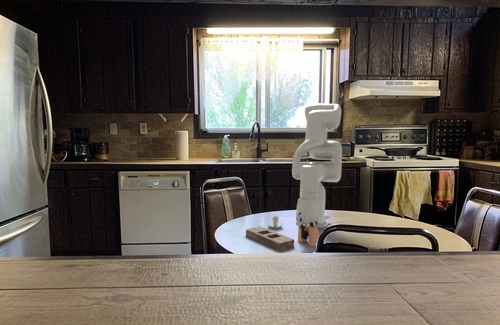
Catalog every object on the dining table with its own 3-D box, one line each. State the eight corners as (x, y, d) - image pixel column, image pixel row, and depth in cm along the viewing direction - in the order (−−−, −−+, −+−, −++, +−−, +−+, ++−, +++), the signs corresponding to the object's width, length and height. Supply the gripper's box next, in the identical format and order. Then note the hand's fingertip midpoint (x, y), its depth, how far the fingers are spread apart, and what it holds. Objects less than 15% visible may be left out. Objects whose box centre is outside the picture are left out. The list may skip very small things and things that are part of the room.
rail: (259, 232, 152) (260, 226, 152) (293, 246, 134) (294, 239, 134) (245, 236, 147) (245, 229, 147) (279, 250, 130) (279, 243, 129)
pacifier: (267, 226, 164) (268, 229, 158) (267, 213, 163) (268, 216, 157) (281, 226, 164) (283, 229, 158) (282, 213, 164) (283, 216, 158)
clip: (302, 239, 144) (303, 223, 143) (317, 245, 137) (318, 228, 136) (297, 240, 142) (298, 224, 141) (312, 246, 135) (313, 229, 134)
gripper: (315, 191, 145) (314, 232, 147) (288, 195, 135) (287, 239, 137) (329, 194, 139) (327, 237, 141) (301, 198, 129) (300, 244, 131)
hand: (307, 237), depth 139 cm, fingers open, 3 cm apart
